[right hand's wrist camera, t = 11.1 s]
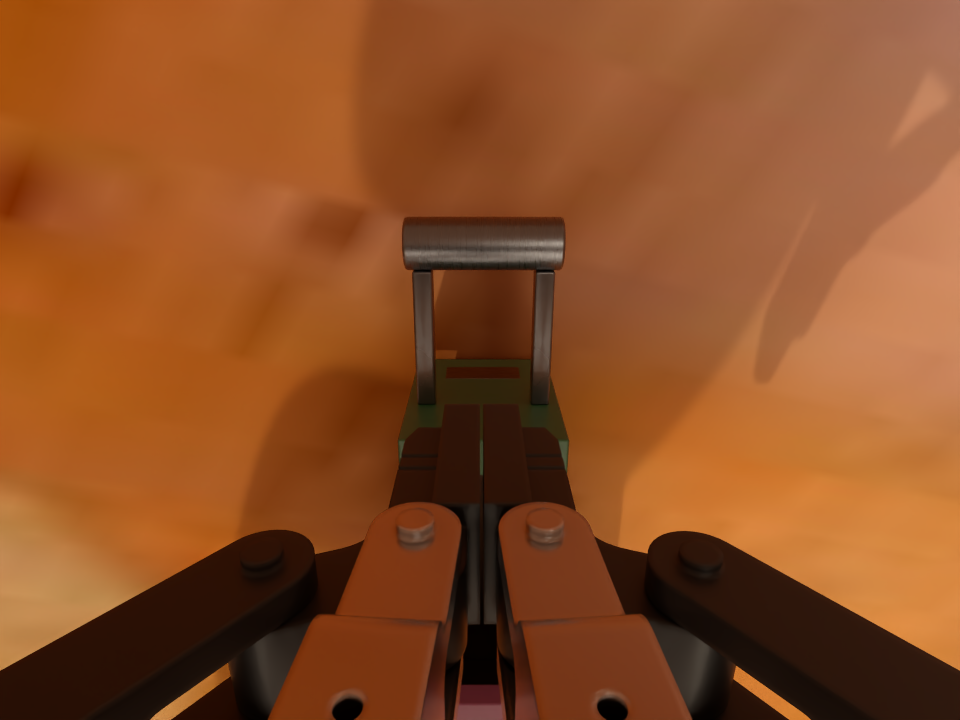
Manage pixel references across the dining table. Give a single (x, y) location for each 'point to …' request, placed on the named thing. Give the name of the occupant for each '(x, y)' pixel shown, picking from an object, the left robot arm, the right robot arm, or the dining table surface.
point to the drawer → (483, 379)
